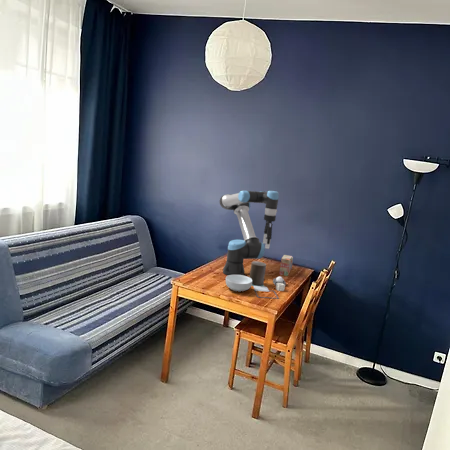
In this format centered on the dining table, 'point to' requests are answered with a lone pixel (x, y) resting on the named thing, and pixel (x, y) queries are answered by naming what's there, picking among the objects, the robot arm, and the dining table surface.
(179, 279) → the dining table surface
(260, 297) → the ring
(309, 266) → the dining table surface
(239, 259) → the robot arm
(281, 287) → the die
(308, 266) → the dining table surface
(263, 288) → the pad one
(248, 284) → the cereal bowl
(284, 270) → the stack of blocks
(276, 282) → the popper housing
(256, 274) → the pillar candle
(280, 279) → the dome
